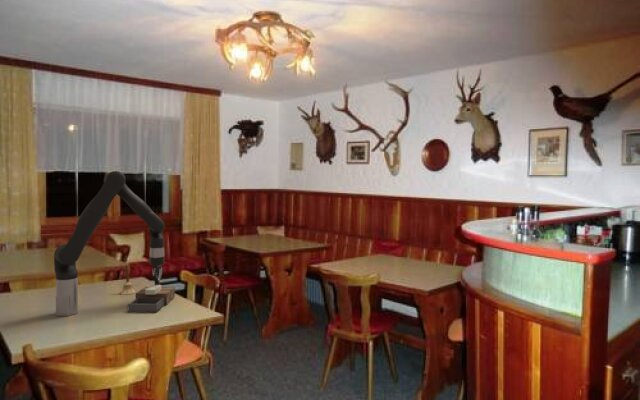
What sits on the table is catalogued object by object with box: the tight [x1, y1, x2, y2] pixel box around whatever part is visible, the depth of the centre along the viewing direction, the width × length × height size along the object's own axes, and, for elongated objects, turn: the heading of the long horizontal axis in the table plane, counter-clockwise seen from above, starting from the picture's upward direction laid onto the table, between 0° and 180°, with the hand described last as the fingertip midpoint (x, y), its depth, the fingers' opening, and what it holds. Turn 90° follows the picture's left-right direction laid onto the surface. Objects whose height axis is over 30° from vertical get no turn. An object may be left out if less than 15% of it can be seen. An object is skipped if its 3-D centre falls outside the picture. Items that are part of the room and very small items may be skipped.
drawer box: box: [135, 286, 176, 306], centre depth 244 cm, size 14×16×6 cm
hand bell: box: [119, 264, 137, 296], centre depth 259 cm, size 8×8×16 cm
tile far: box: [149, 284, 162, 292], centre depth 242 cm, size 5×5×2 cm
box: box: [127, 297, 166, 314], centre depth 231 cm, size 12×14×4 cm
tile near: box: [145, 286, 158, 295], centre depth 237 cm, size 5×5×2 cm
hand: (157, 287), depth 247 cm, fingers closed
